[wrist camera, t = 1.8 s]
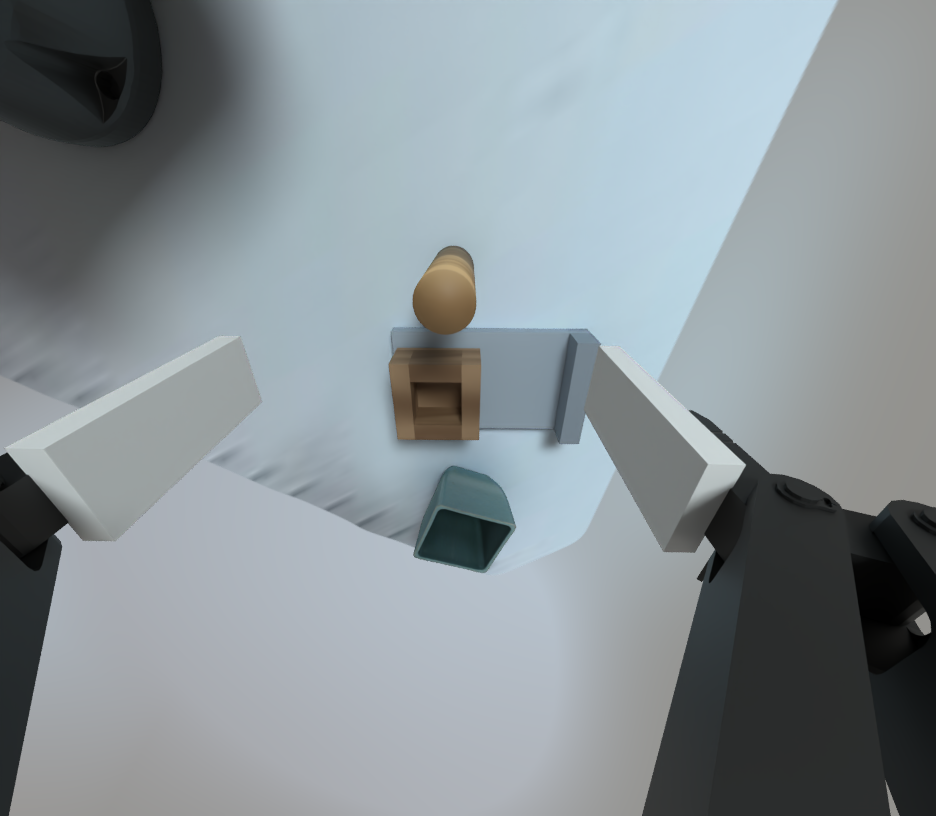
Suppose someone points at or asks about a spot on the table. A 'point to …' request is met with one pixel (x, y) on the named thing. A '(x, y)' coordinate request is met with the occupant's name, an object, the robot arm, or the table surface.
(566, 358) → the board
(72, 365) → the table surface
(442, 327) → the dowel
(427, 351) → the block
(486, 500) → the flower pot
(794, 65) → the table surface
